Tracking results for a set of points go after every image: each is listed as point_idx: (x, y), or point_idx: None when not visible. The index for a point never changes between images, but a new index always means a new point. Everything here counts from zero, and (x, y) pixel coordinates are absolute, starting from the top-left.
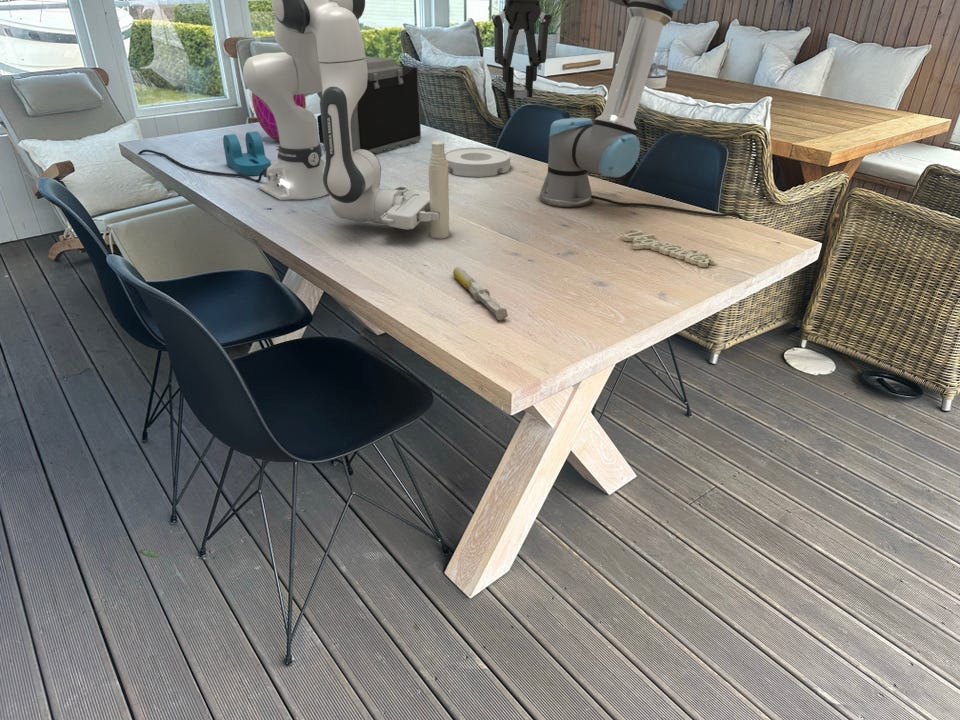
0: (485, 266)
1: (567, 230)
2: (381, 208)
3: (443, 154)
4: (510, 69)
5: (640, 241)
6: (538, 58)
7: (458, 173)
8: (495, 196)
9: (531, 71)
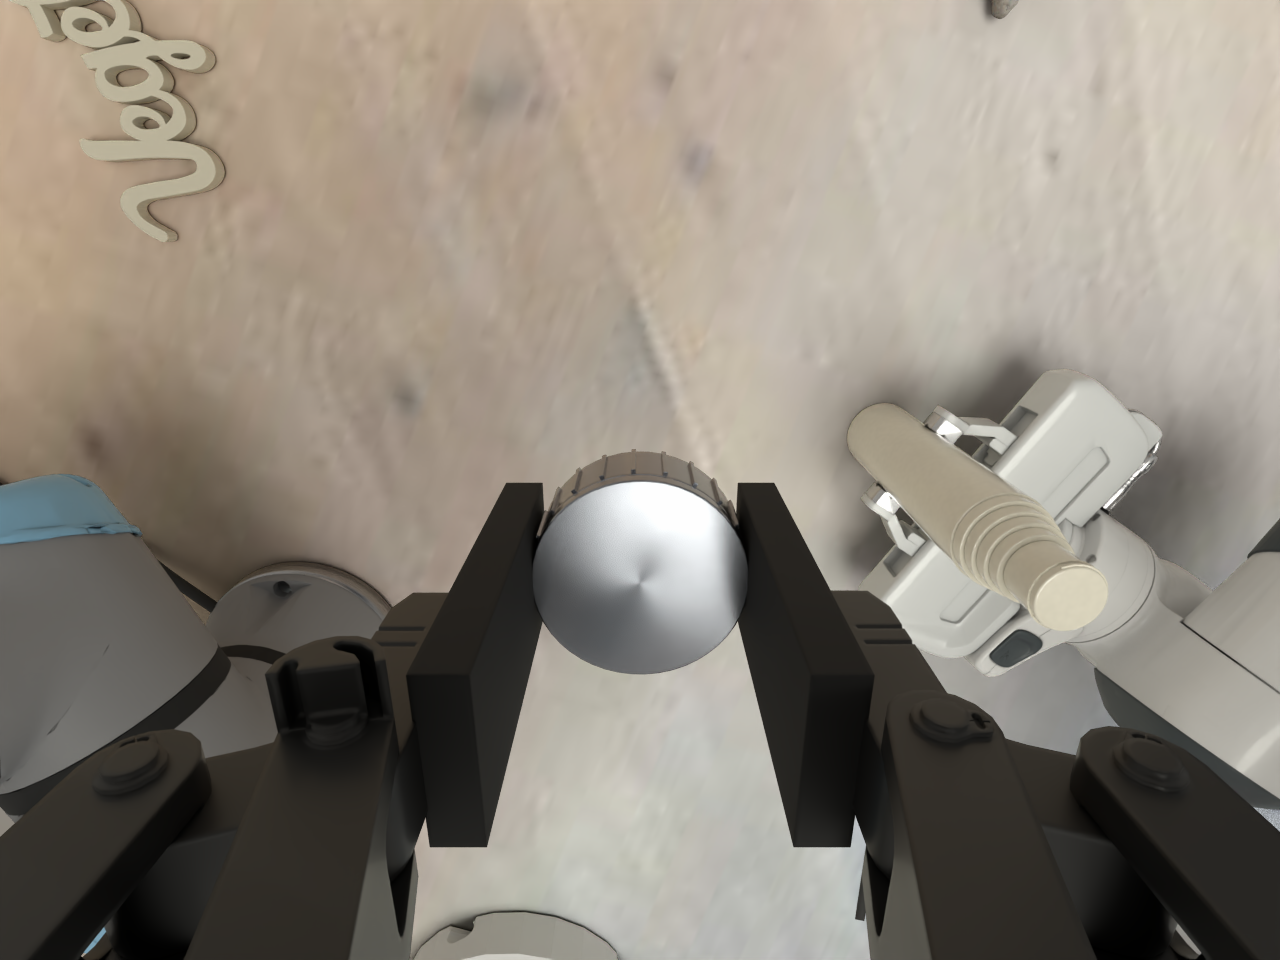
0: (851, 72)
1: (411, 346)
2: (1124, 527)
3: (1021, 542)
4: (862, 666)
5: (162, 90)
6: (221, 843)
7: (603, 946)
8: (550, 737)
9: (465, 631)
